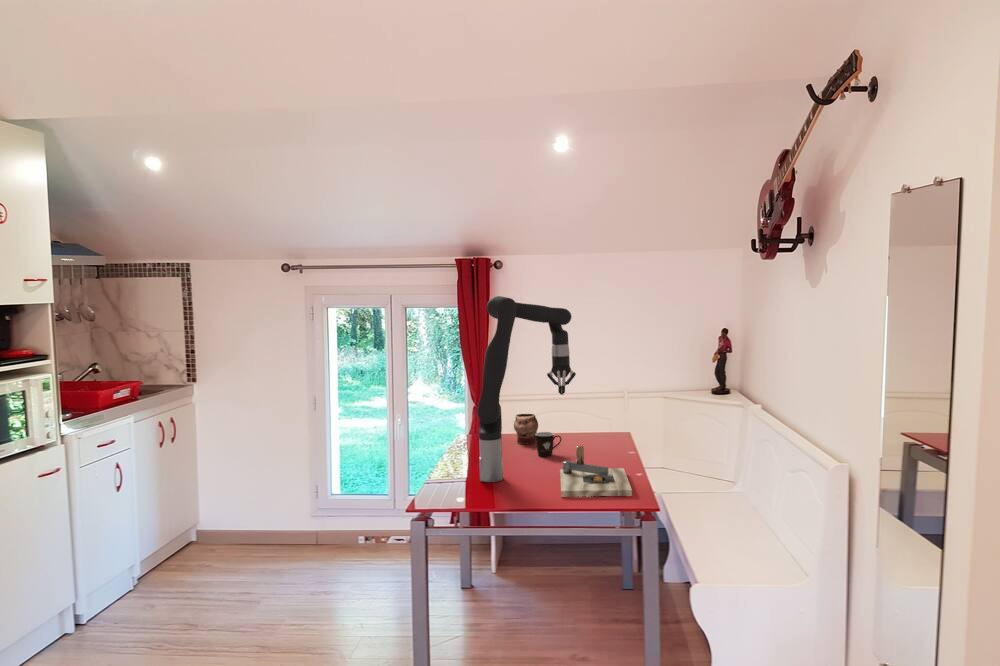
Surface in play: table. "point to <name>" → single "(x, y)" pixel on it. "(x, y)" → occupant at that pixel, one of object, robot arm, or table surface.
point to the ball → (597, 478)
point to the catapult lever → (580, 465)
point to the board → (595, 484)
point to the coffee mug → (545, 443)
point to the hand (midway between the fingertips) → (561, 394)
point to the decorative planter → (526, 428)
